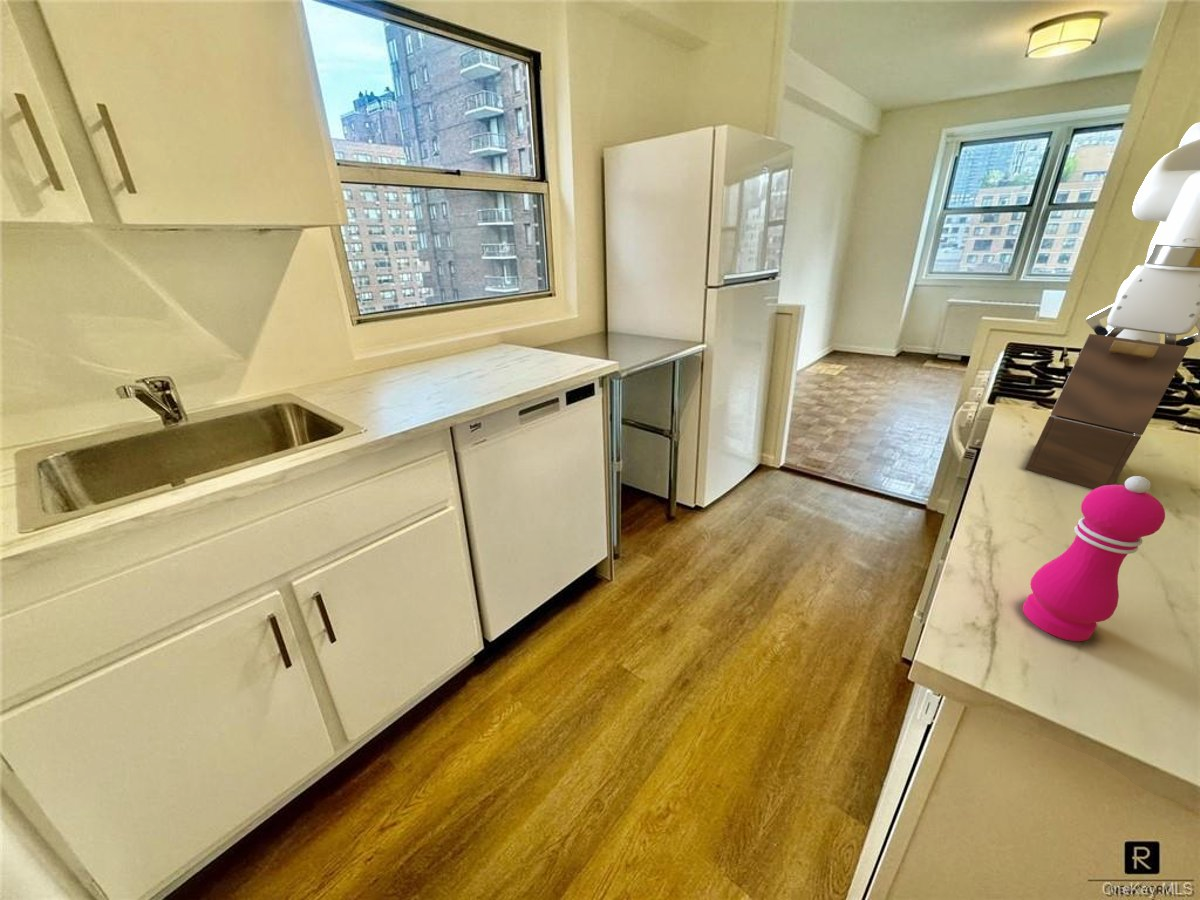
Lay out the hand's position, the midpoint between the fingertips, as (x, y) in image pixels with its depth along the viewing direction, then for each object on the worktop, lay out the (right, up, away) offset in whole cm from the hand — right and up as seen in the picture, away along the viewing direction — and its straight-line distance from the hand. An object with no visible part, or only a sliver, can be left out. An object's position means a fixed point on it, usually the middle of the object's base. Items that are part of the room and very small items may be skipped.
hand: (1124, 368), depth 84 cm
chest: (-3, -18, +7) cm, 19 cm away
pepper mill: (-37, -35, -26) cm, 57 cm away
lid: (-5, -3, -3) cm, 7 cm away
